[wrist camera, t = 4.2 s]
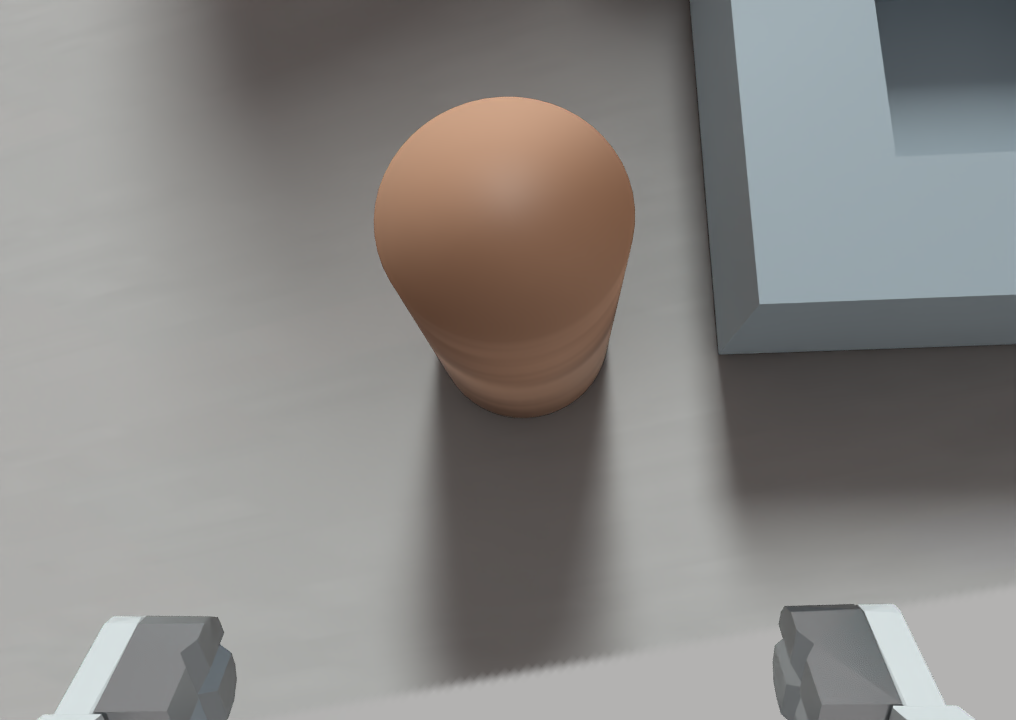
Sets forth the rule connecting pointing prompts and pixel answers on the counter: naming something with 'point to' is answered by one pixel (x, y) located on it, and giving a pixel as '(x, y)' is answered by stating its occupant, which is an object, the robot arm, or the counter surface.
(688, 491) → the counter surface
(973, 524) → the counter surface
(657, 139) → the counter surface
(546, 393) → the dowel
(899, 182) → the square socket block
